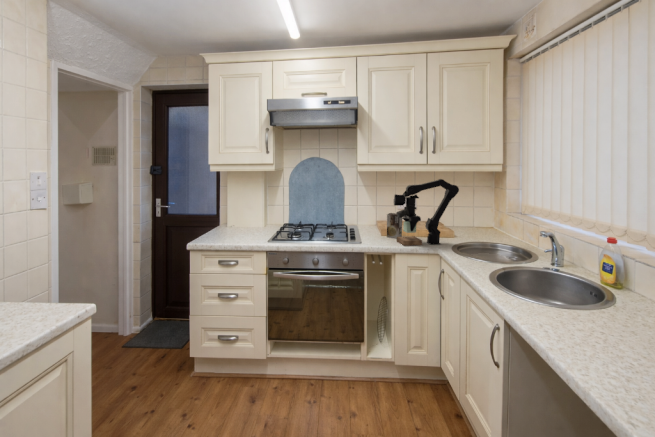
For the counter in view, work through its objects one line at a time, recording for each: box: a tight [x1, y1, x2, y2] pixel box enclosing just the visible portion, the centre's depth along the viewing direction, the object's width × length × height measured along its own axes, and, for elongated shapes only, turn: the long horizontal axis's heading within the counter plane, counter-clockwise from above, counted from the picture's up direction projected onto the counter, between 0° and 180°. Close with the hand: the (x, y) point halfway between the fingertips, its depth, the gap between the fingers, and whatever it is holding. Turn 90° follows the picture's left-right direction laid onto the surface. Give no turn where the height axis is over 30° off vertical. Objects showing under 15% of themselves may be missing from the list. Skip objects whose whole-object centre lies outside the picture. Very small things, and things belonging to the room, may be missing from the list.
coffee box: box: [386, 212, 403, 239], centre depth 242 cm, size 9×6×16 cm
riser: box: [396, 235, 423, 247], centre depth 225 cm, size 12×12×3 cm
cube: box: [402, 221, 417, 234], centre depth 223 cm, size 6×6×6 cm
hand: (409, 230), depth 224 cm, fingers closed on cube, 6 cm apart
